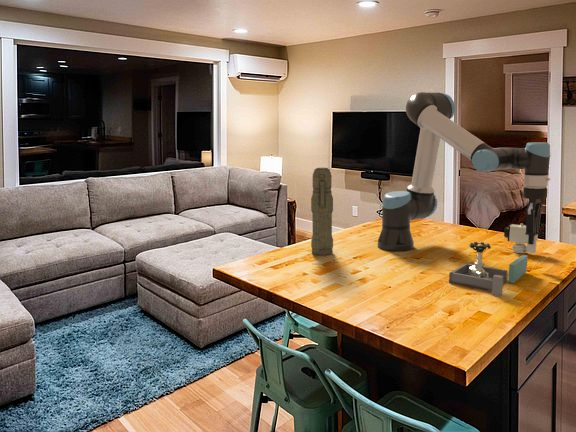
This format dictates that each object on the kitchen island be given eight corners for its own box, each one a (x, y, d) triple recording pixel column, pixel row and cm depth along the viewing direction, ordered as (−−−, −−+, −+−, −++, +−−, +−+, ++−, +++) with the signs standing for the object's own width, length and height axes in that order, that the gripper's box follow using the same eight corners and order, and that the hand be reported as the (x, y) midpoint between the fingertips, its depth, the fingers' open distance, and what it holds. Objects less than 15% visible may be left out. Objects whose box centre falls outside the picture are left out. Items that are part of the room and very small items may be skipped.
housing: (445, 285, 159) (446, 267, 158) (465, 272, 171) (465, 256, 170) (499, 296, 148) (501, 277, 147) (516, 282, 160) (518, 264, 159)
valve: (473, 283, 158) (475, 247, 156) (463, 276, 165) (465, 242, 162) (492, 281, 159) (494, 246, 157) (482, 275, 165) (484, 241, 163)
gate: (508, 282, 160) (509, 264, 159) (521, 271, 171) (522, 254, 170) (513, 283, 159) (514, 265, 158) (526, 272, 170) (527, 255, 169)
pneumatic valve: (534, 255, 191) (537, 226, 189) (502, 251, 198) (504, 223, 196) (536, 252, 196) (539, 223, 193) (505, 248, 202) (507, 220, 200)
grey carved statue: (313, 257, 195) (312, 169, 188) (309, 249, 206) (309, 167, 200) (335, 256, 195) (335, 169, 189) (330, 248, 207) (330, 166, 200)
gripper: (542, 189, 163) (537, 258, 167) (552, 185, 172) (547, 250, 176) (518, 188, 167) (514, 254, 172) (529, 184, 177) (525, 247, 181)
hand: (531, 252), depth 174 cm, fingers closed
